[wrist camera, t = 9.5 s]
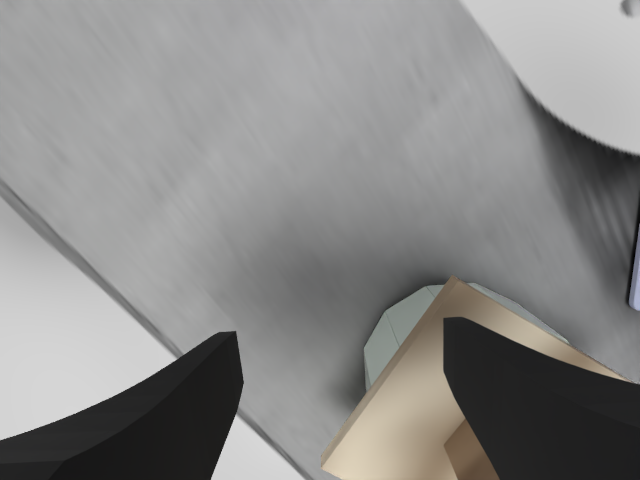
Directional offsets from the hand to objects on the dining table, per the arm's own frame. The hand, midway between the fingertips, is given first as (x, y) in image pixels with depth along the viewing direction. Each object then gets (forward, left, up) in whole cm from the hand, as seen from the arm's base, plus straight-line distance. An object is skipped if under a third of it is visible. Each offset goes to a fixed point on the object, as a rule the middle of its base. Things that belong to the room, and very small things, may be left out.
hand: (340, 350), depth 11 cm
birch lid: (-7, +8, -4) cm, 11 cm away
